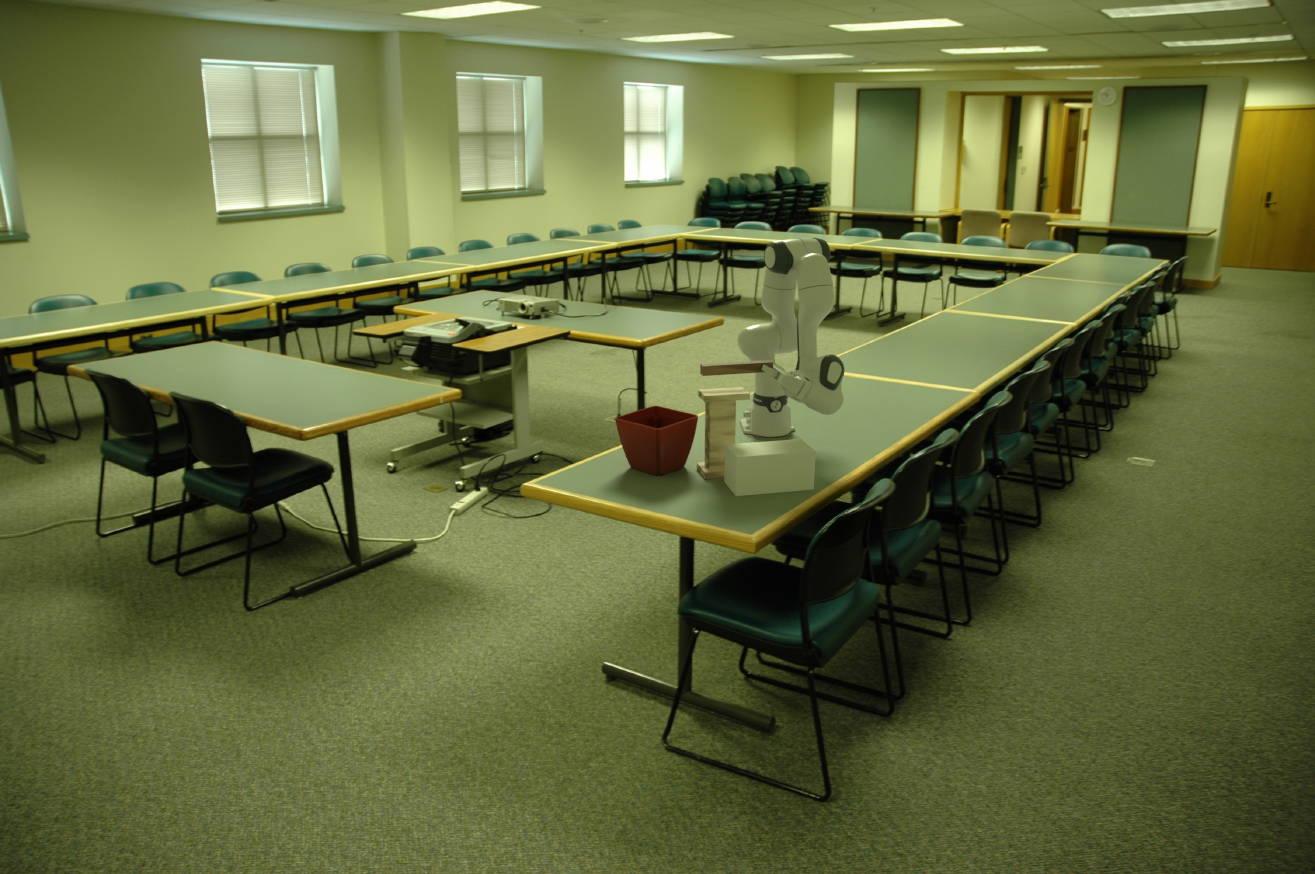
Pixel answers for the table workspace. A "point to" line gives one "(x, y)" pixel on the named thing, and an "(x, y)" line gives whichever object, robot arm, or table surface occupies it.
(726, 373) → the walnut bar
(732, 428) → the wooden i-beam pillar
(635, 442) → the plant pot
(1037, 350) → the table surface
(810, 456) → the white rectangular block
